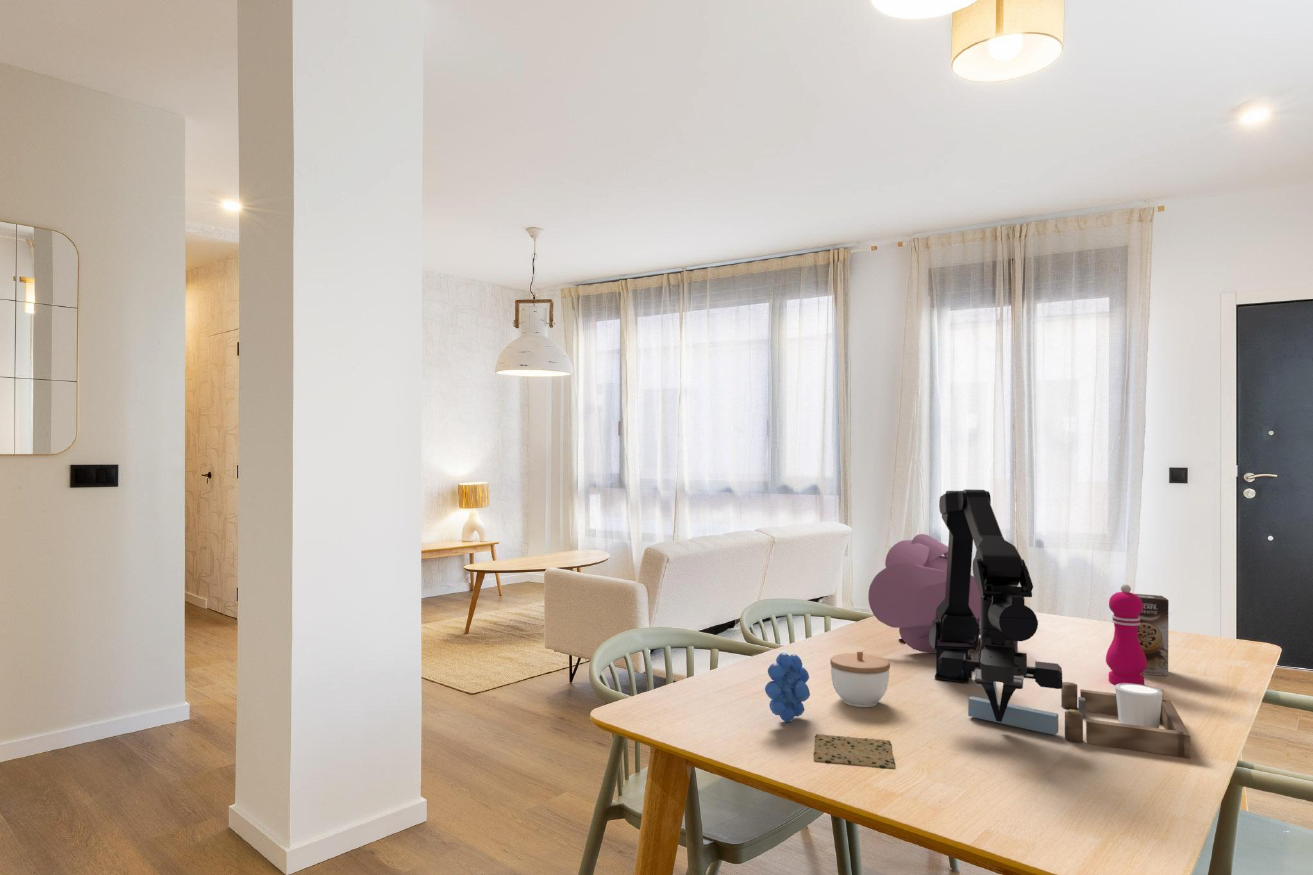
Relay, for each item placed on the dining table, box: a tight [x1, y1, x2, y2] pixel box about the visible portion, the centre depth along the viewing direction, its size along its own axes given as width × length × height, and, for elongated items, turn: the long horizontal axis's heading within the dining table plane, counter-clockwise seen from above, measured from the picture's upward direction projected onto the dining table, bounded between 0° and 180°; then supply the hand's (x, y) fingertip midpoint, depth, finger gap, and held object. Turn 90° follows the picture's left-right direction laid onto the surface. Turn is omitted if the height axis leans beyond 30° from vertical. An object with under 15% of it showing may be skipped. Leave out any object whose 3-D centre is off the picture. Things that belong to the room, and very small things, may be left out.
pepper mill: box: [1105, 584, 1147, 686], centre depth 160 cm, size 7×7×20 cm
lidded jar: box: [829, 650, 891, 708], centre depth 146 cm, size 11×11×9 cm
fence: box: [1060, 681, 1192, 759], centre depth 133 cm, size 17×21×5 cm
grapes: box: [764, 652, 811, 723], centre depth 134 cm, size 12×7×12 cm, turn 136°
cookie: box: [813, 733, 897, 770], centre depth 122 cm, size 12×12×1 cm
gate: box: [967, 696, 1059, 736], centre depth 134 cm, size 2×14×3 cm, turn 49°
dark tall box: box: [1115, 591, 1169, 677], centre depth 170 cm, size 9×6×16 cm
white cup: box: [1114, 683, 1163, 729], centre depth 132 cm, size 7×7×7 cm
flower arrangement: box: [867, 533, 981, 654], centre depth 194 cm, size 35×24×28 cm
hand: (999, 721), depth 131 cm, fingers closed
